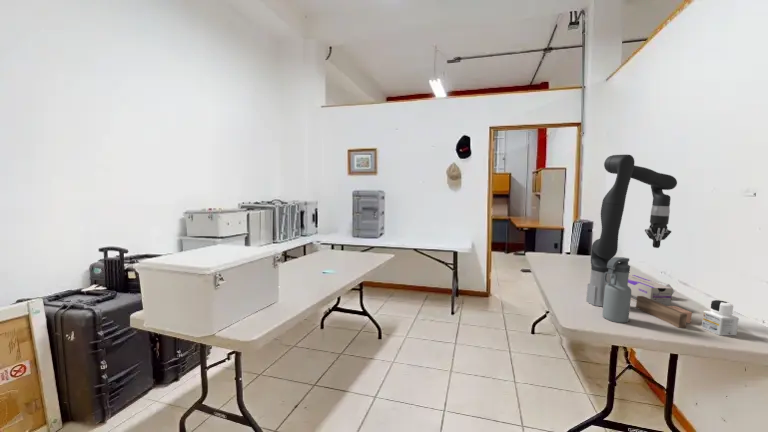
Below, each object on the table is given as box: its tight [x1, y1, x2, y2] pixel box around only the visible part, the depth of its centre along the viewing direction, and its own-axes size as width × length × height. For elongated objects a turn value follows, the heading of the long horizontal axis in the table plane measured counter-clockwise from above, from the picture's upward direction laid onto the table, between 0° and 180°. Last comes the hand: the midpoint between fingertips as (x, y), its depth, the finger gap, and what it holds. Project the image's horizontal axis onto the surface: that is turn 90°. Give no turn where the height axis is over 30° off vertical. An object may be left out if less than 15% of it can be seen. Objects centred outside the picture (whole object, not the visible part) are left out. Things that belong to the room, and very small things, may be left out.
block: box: [668, 305, 693, 324], centre depth 157 cm, size 8×8×5 cm
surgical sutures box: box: [628, 274, 674, 306], centre depth 183 cm, size 25×11×11 cm, turn 1°
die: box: [658, 282, 675, 295], centre depth 189 cm, size 8×9×10 cm
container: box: [701, 299, 740, 336], centre depth 144 cm, size 8×8×13 cm
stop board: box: [635, 296, 687, 329], centre depth 159 cm, size 3×24×6 cm, turn 2°
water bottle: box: [601, 256, 632, 324], centre depth 153 cm, size 10×10×28 cm
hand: (656, 247), depth 178 cm, fingers closed
